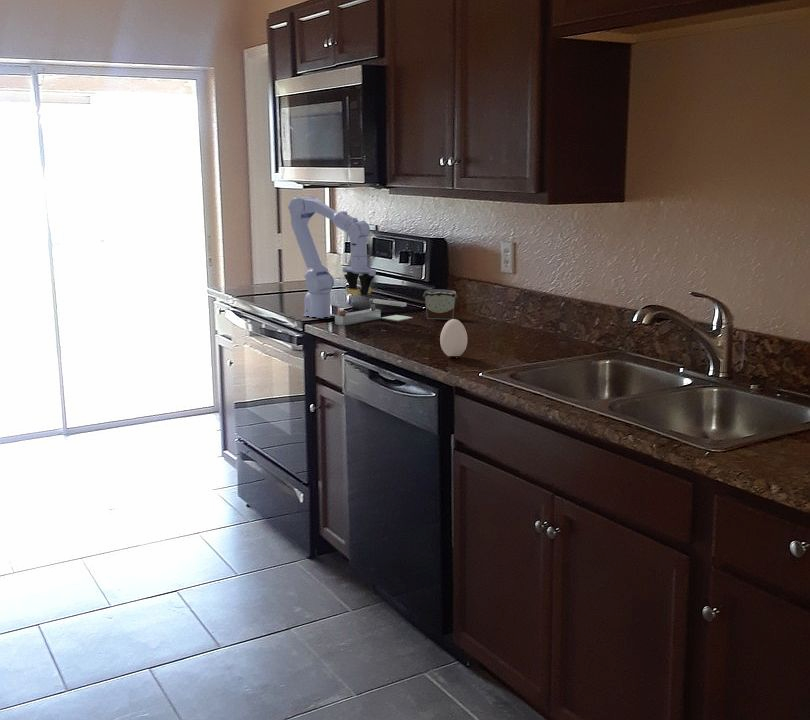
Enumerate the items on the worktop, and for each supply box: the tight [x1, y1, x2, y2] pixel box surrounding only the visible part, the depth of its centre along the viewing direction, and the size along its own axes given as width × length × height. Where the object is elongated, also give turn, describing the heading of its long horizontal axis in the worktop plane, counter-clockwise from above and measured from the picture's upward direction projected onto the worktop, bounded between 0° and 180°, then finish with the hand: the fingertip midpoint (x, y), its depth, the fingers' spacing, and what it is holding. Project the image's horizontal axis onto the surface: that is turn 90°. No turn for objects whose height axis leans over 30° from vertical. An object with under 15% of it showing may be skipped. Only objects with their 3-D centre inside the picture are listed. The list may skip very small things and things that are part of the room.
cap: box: [346, 286, 372, 296], centre depth 321 cm, size 5×7×2 cm
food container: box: [422, 289, 458, 320], centre depth 330 cm, size 12×6×10 cm, turn 84°
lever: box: [368, 298, 407, 308], centre depth 323 cm, size 2×16×1 cm, turn 51°
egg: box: [439, 318, 468, 357], centre depth 264 cm, size 8×8×11 cm
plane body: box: [334, 302, 382, 327], centre depth 323 cm, size 4×19×6 cm, turn 138°
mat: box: [381, 314, 413, 322], centre depth 329 cm, size 8×8×1 cm
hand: (359, 294), depth 321 cm, fingers closed on cap, 5 cm apart
